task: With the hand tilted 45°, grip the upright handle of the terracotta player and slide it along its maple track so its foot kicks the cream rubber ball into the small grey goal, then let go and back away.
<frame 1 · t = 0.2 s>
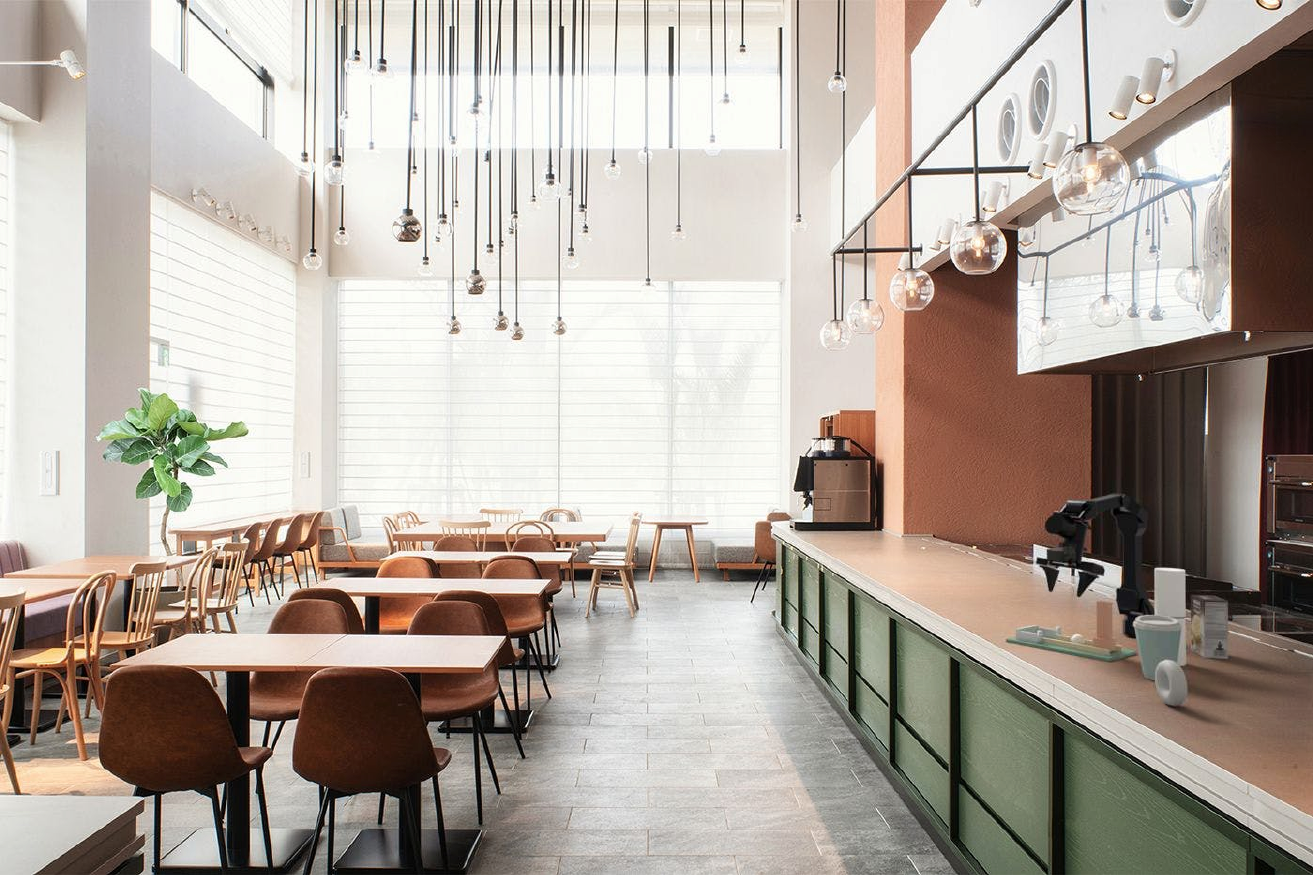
hand: (1064, 594, 246), 15 cm above the worktop, tool tilted 15°, fingers open, 9 cm apart
donut: (1171, 706, 189), on the worktop
player: (1104, 626, 238), point 8 cm above the worktop, slide at 6.0 cm
disposable coffee cup: (1157, 679, 212), on the worktop
goal: (1038, 641, 253), resting on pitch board
cylindrical container: (1170, 663, 228), on the worktop
coffee box: (1209, 655, 238), on the worktop
ball: (1078, 640, 244), point 3 cm above the worktop, touching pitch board
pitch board: (1083, 650, 242), on the worktop
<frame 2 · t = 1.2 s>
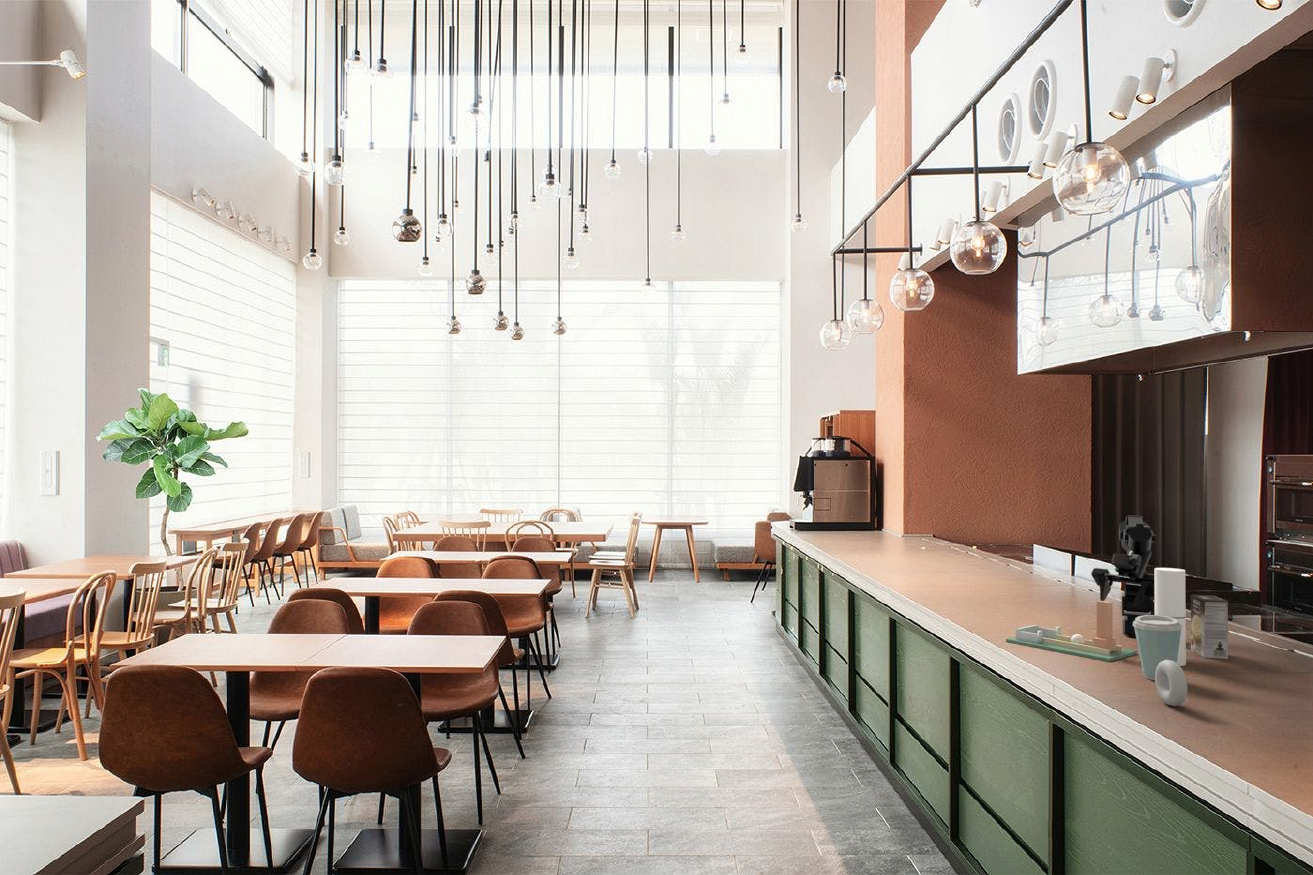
hand: (1117, 603, 243), 13 cm above the worktop, tool tilted 45°, fingers open, 9 cm apart
nothing on the worktop moved.
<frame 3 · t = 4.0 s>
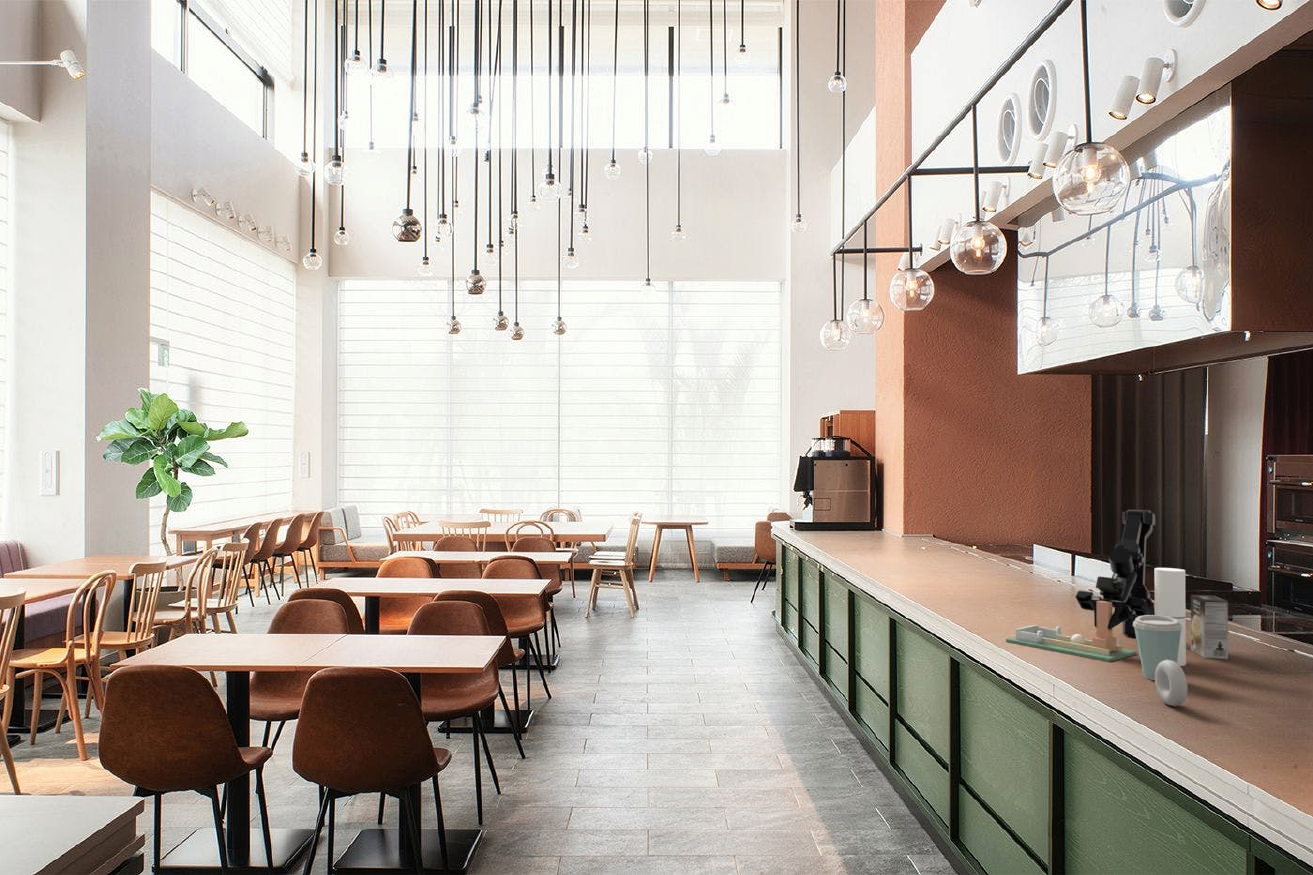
hand: (1102, 627, 237), 8 cm above the worktop, tool tilted 45°, fingers closed on player, 3 cm apart
player: (1104, 626, 238), point 8 cm above the worktop, slide at 6.0 cm, touching gripper
everything else where it was.
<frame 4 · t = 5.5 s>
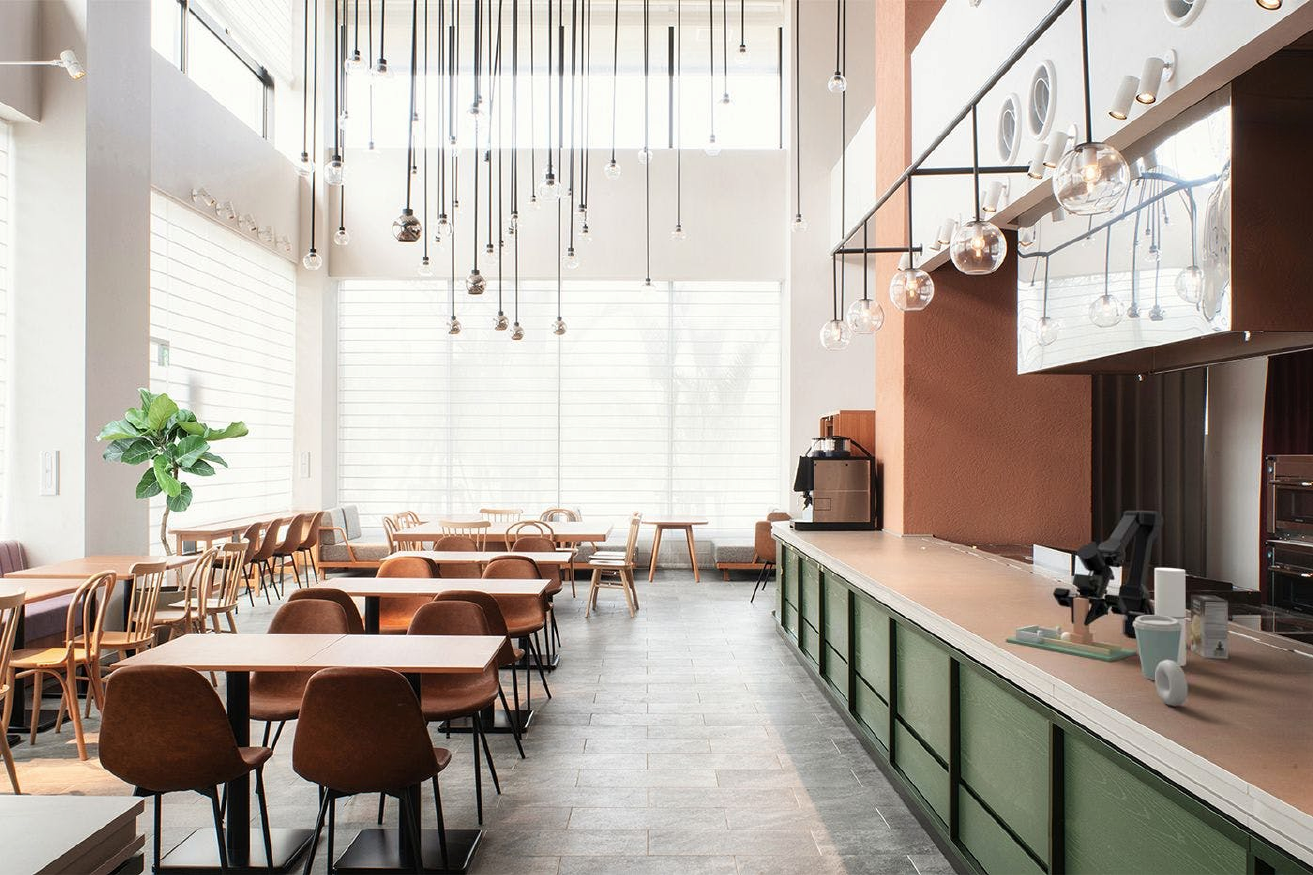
hand: (1078, 623, 242), 8 cm above the worktop, tool tilted 45°, fingers closed on player, 3 cm apart
player: (1081, 622, 243), point 8 cm above the worktop, slide at -0.6 cm, touching gripper
ball: (1067, 638, 246), point 3 cm above the worktop, tilted 98°, touching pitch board
everything else where it was.
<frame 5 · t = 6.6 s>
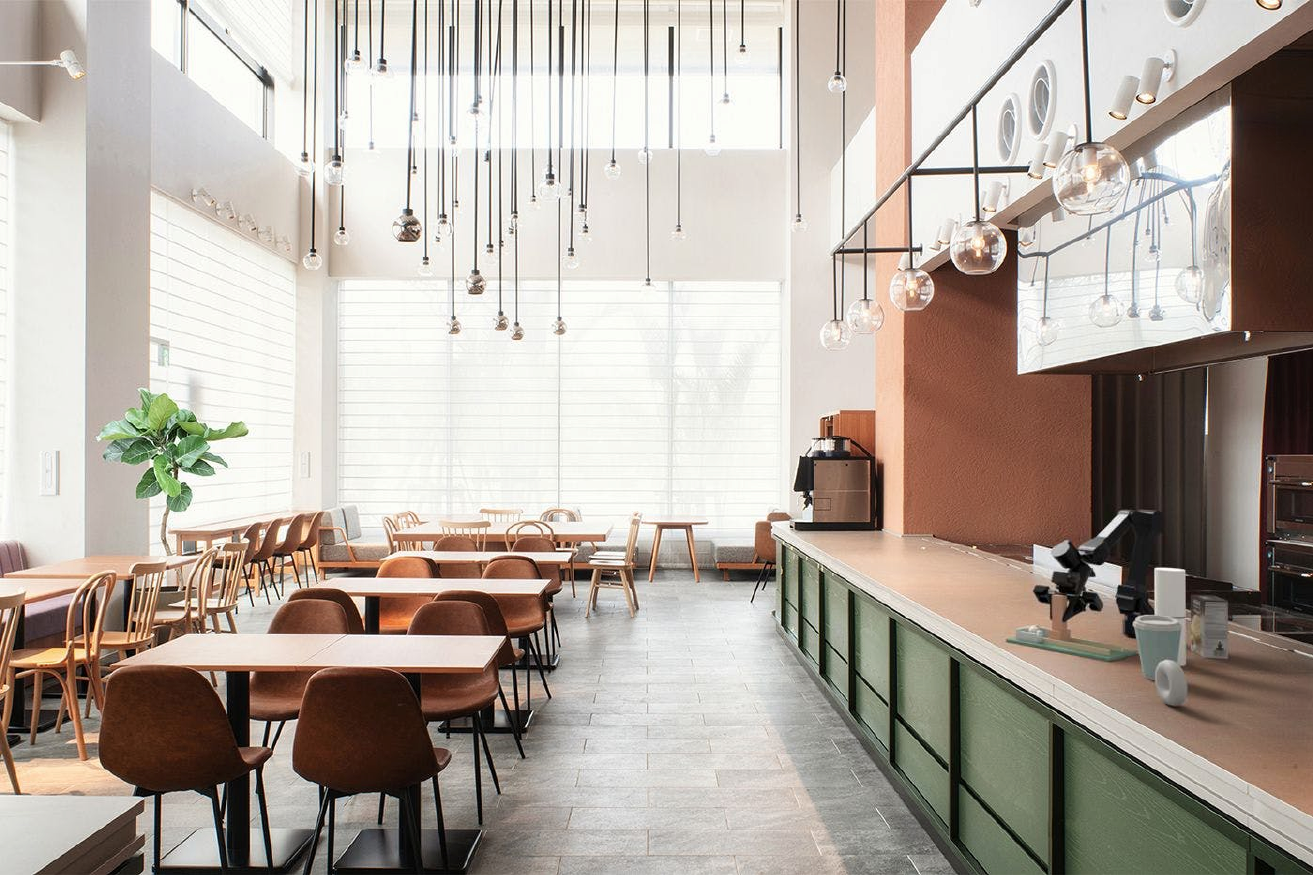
hand: (1057, 620, 247), 8 cm above the worktop, tool tilted 45°, fingers closed on player, 3 cm apart
player: (1059, 618, 248), point 8 cm above the worktop, slide at -6.9 cm, touching gripper
ball: (1034, 632, 254), point 3 cm above the worktop, tilted 68°, touching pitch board
everything else where it was.
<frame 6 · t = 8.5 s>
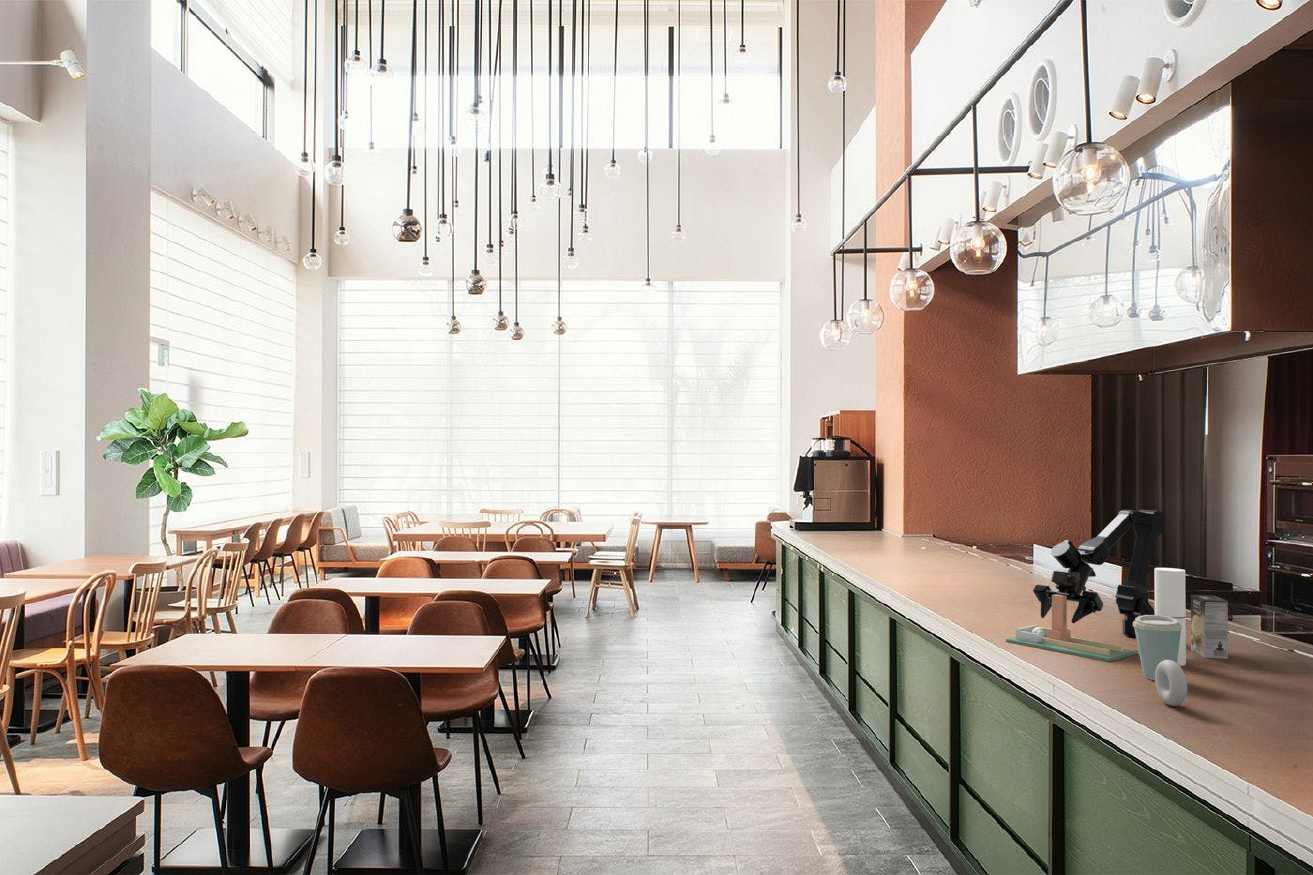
hand: (1057, 619, 247), 8 cm above the worktop, tool tilted 45°, fingers open, 9 cm apart
player: (1059, 618, 248), point 8 cm above the worktop, slide at -7.0 cm
ball: (1038, 633, 253), point 3 cm above the worktop, tilted 26°, touching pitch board
everything else where it was.
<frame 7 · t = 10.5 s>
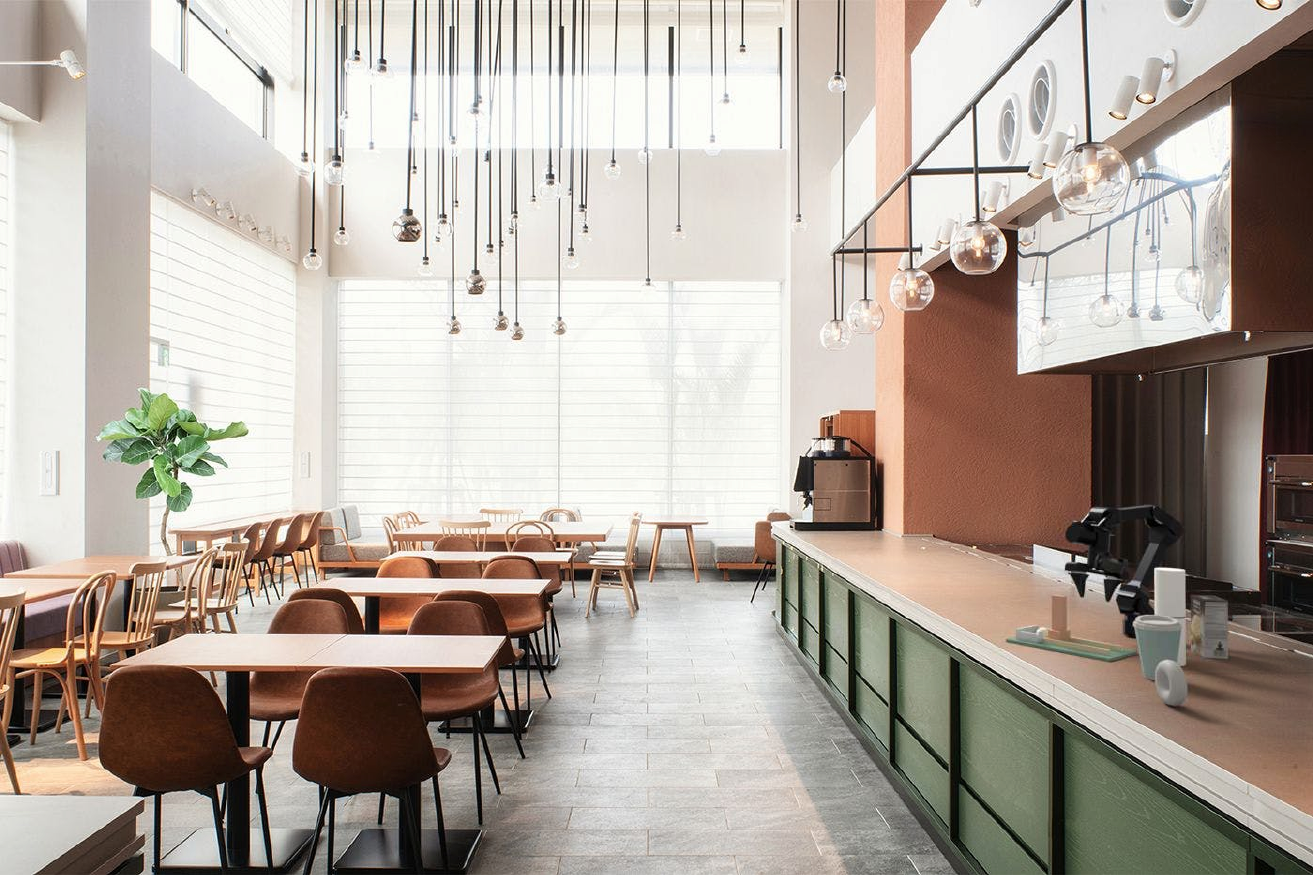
hand: (1094, 599, 256), 12 cm above the worktop, tool pointing down, fingers open, 9 cm apart
ball: (1042, 633, 252), point 3 cm above the worktop, tilted 18°, touching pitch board
everything else where it was.
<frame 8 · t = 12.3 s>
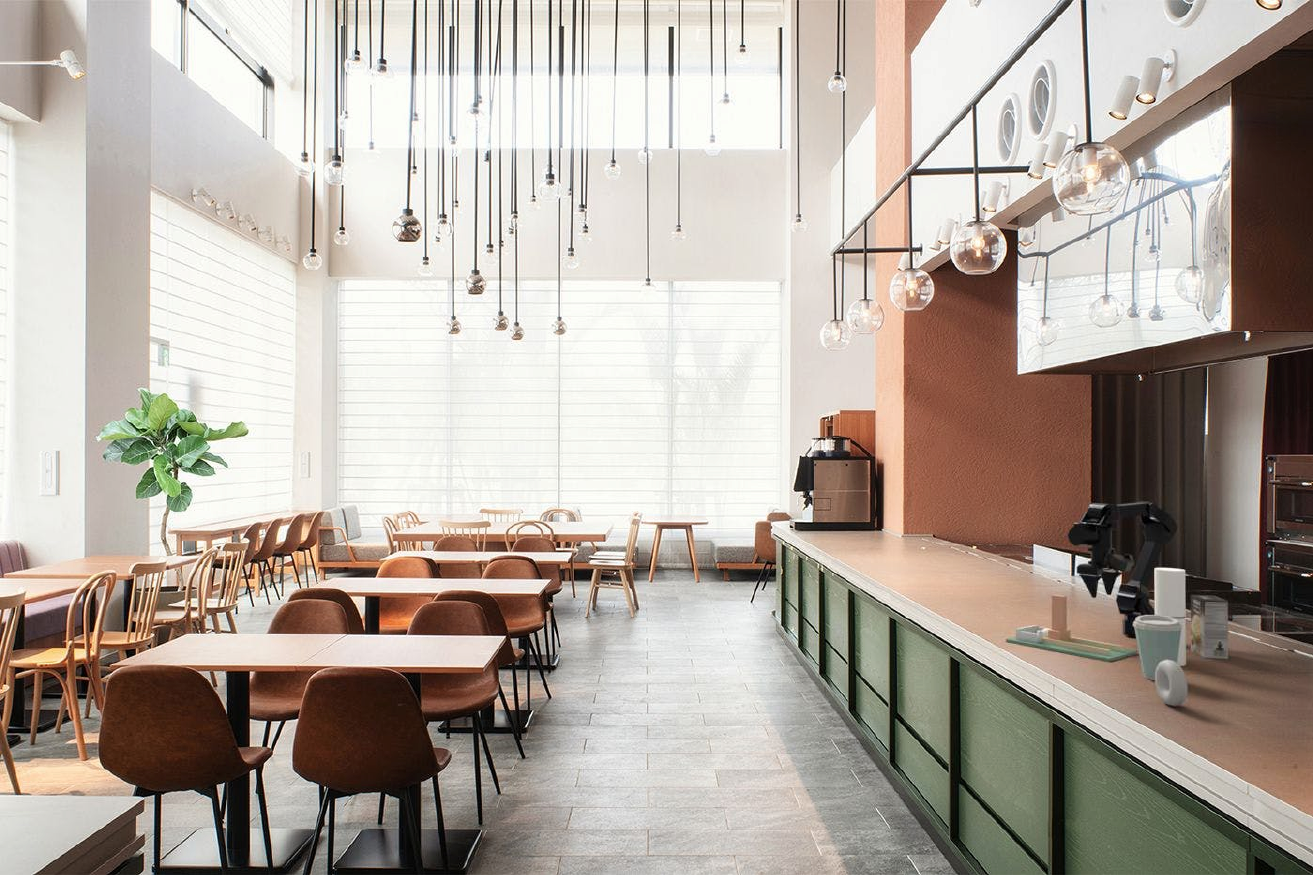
hand: (1101, 596, 257), 13 cm above the worktop, tool pointing down, fingers open, 9 cm apart
ball: (1046, 634, 251), point 3 cm above the worktop, tilted 58°, touching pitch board
everything else where it was.
at the end: ball 2.7 cm from the goal (horizontally); player slide at -7.0 cm; ball point 2.5 cm above the worktop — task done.
